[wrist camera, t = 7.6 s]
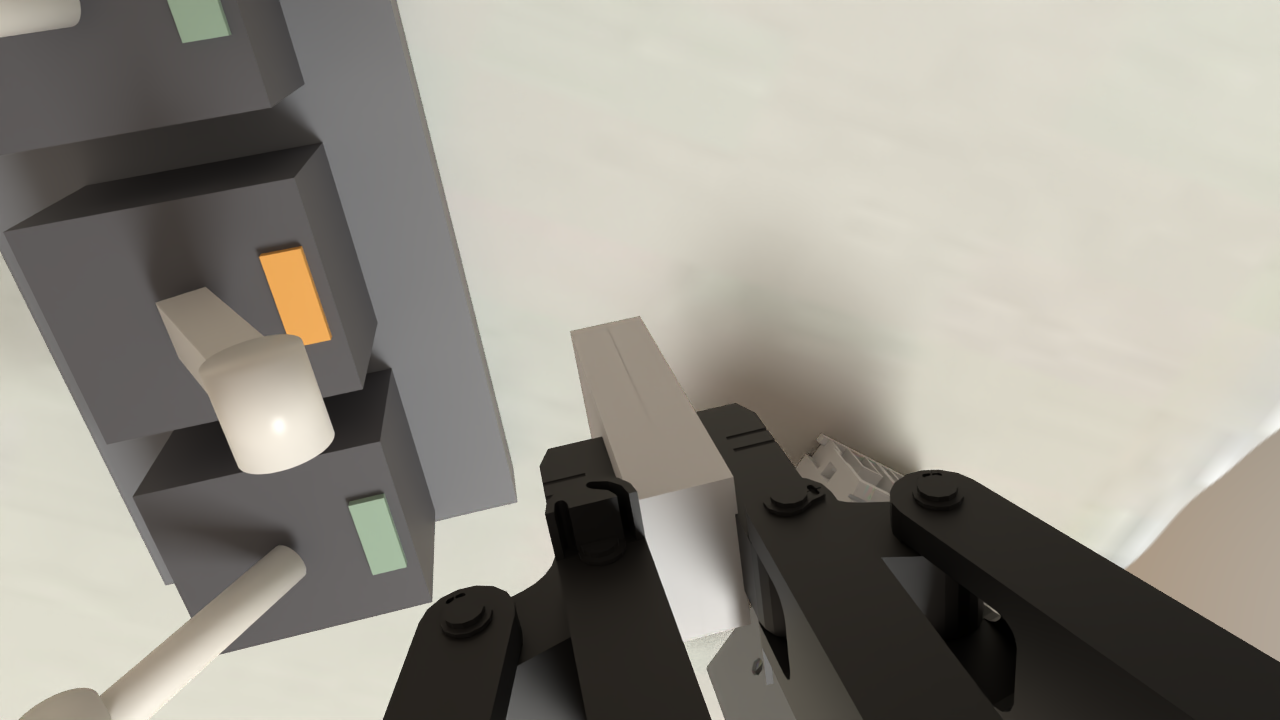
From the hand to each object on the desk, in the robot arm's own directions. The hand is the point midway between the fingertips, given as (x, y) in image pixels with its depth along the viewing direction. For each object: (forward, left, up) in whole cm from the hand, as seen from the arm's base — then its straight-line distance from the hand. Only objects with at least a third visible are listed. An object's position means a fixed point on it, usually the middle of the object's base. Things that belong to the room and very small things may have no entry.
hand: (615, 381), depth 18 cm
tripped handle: (+11, 0, -10) cm, 15 cm away
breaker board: (+11, 0, -19) cm, 22 cm away
